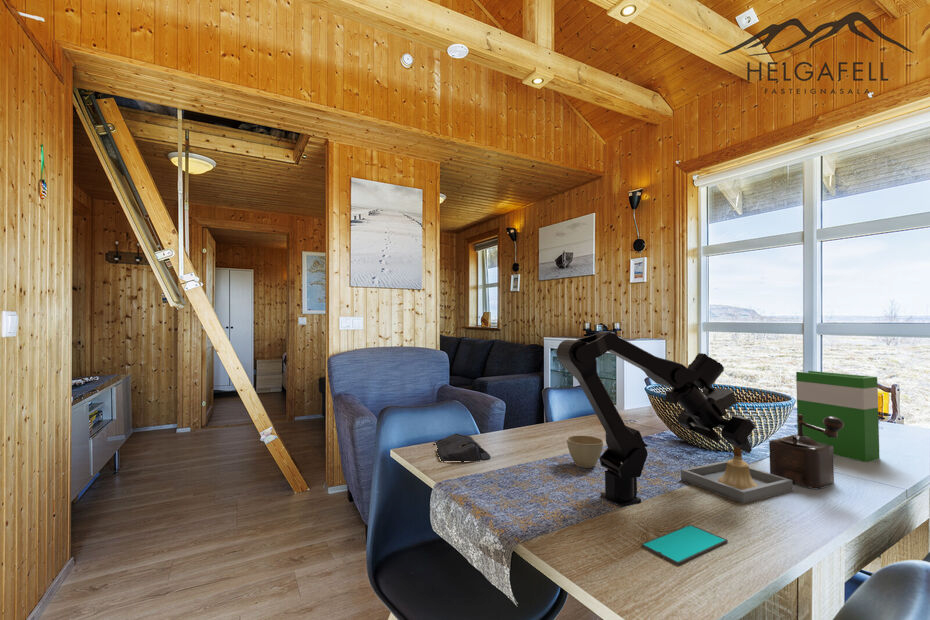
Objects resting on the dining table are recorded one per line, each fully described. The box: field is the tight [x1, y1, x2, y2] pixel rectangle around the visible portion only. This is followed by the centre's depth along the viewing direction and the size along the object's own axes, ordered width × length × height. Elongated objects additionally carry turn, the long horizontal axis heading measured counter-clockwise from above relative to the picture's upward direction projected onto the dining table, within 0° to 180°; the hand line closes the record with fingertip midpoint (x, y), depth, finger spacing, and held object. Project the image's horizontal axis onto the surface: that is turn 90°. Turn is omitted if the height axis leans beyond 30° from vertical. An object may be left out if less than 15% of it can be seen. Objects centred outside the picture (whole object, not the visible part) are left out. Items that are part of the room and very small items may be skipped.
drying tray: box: [680, 460, 794, 505], centre depth 107 cm, size 18×16×2 cm
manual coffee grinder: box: [768, 414, 844, 490], centre depth 108 cm, size 16×11×18 cm
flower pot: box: [566, 434, 604, 469], centre depth 122 cm, size 10×10×7 cm
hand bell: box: [718, 446, 758, 490], centre depth 105 cm, size 8×8×16 cm
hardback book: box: [795, 370, 881, 463], centre depth 134 cm, size 18×7×24 cm, turn 23°
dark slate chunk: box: [434, 433, 492, 462], centre depth 135 cm, size 15×22×5 cm
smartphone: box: [641, 524, 728, 567], centre depth 78 cm, size 7×1×15 cm
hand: (733, 446), depth 105 cm, fingers open, 9 cm apart
